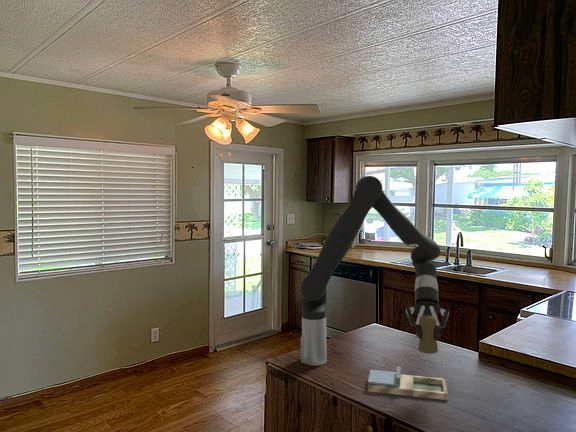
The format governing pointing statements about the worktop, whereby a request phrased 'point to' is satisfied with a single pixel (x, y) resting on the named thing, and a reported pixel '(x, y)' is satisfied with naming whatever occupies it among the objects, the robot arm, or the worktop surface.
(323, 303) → the robot arm
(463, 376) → the worktop surface
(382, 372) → the cover
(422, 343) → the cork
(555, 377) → the worktop surface
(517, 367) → the worktop surface
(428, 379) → the board
